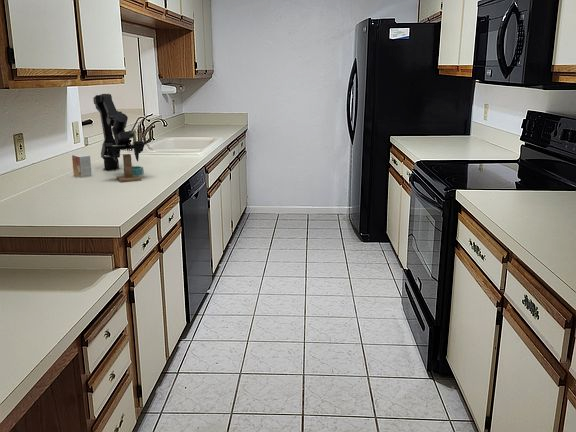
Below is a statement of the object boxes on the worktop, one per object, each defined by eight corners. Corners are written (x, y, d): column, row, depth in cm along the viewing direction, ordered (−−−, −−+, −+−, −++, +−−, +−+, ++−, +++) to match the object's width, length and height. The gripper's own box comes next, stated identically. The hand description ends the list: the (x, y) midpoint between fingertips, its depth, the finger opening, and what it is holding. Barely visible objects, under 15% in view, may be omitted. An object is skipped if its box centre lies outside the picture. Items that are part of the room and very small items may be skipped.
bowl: (121, 174, 276) (120, 167, 275) (136, 172, 283) (136, 165, 282) (131, 177, 270) (130, 170, 269) (146, 174, 277) (146, 167, 276)
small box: (73, 176, 273) (71, 155, 270) (84, 174, 277) (82, 153, 274) (81, 178, 267) (79, 156, 265) (92, 176, 271) (90, 155, 269)
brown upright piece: (116, 178, 264) (114, 154, 261) (135, 177, 269) (133, 152, 266) (121, 182, 257) (119, 156, 254) (141, 180, 261) (139, 155, 258)
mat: (115, 179, 265) (114, 178, 265) (136, 177, 270) (136, 176, 270) (120, 183, 256) (120, 182, 256) (142, 181, 261) (142, 180, 261)
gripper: (102, 125, 255) (109, 152, 249) (141, 123, 264) (150, 149, 258) (99, 141, 263) (107, 167, 257) (138, 138, 273) (146, 163, 266)
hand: (128, 161), depth 259 cm, fingers open, 9 cm apart
